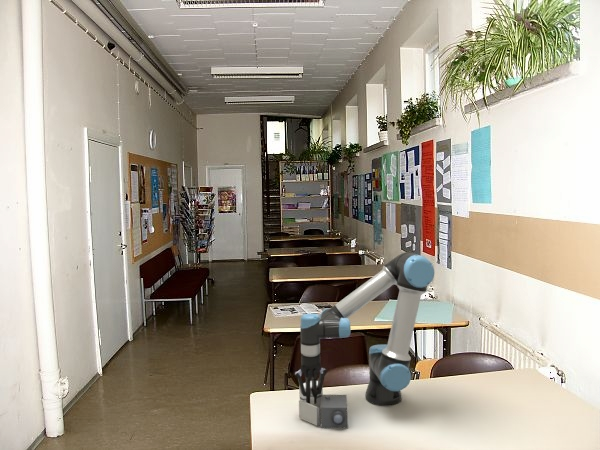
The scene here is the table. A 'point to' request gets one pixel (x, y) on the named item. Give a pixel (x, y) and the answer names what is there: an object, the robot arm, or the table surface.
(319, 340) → the robot arm
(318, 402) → the ink box
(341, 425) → the housing
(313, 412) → the door
